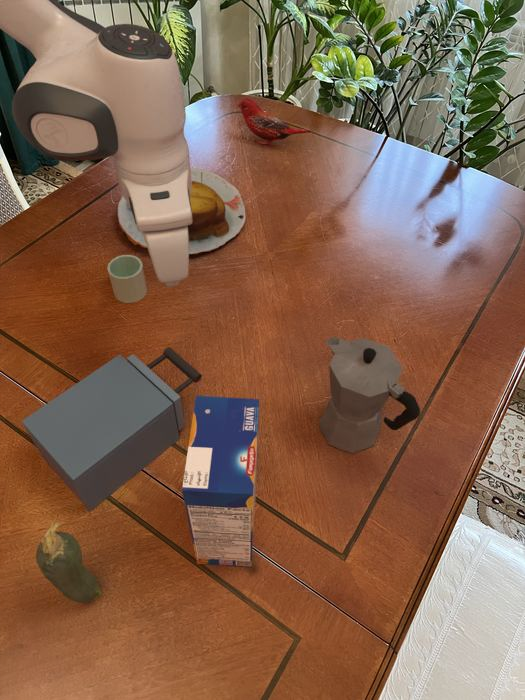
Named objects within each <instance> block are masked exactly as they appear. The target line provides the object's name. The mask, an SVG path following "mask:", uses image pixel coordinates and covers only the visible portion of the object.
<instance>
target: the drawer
mask: <svg viewBox="0 0 525 700" xmlns="http://www.w3.org/2000/svg"><path fill="white" fill-rule="evenodd" d="M126 360H127V361H128V362H129V363H130V364H131V365H132V366H133V367H134V368H135V369H136V370H138V371H139V372H140V373H141V374H142V375H143V376H144V377H145V378H146V379H147V380H148V381H149V382H151V383H152V384H153V385H154V386H155V387H156V388H157V389H158V390H159V391H160V392H161V393H162V394H164V395H165V396H166V397H167V398H168V399H169V400H170V401H171V402H172V403H173V406H174V411H175V417H176V422H177V428H178V432H179V431H181V430H183V429H184V428H185V427H186V422H185V416H184V410H183V404H182V399H181V398H182V397H181V396H180V395H179V394H180V393H181V392H182V391H184V390H185V389H186V388H187V387H189V386H190V385H191V384H193V383H199V382H200V381H201V380H202V377H203V374H202V373H200V372H199V371H198V370H197V369H196V368H194V367H193V365H191V364H190V363H189V362H188V361H186V359H184V358H183V357H182V356H180V354H178V352H176V351H175V350H174V349H173V348H171V347H170V346H169V347H166V348H164V350H163V352H162V354H161V355H160V356H158V357H157V358H155V359H154V360H152V361H151V362H149V363H148V364H147V365H146V364H145V363H144V362H143V361H142V360H141V359H140V358H139V357H138V356H136V355H135V354H134V353H132V354H130V355H129V356H127V357H126ZM165 360H168V361H169V362H171V363H172V365H174V366H175V367H176V368H177V369H178V370H179V371H181V372H182V373H183V374H184V375H185V376H186V377H187V378H188V379H186V380H185V381H184V382H182V383H181V384H180V385H178V386H177V387H176V388H175V389H173V388H172V387H171V386H169V385H168V384H167V383H166V382H165V381H164V380H162V378H161V377H159V376H158V375H157V374H156V373H155V372H154V371H153V370H152V369H154V368H155V367H157V366H158V365H159V364H161V363H162V362H163V361H165Z"/></svg>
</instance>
